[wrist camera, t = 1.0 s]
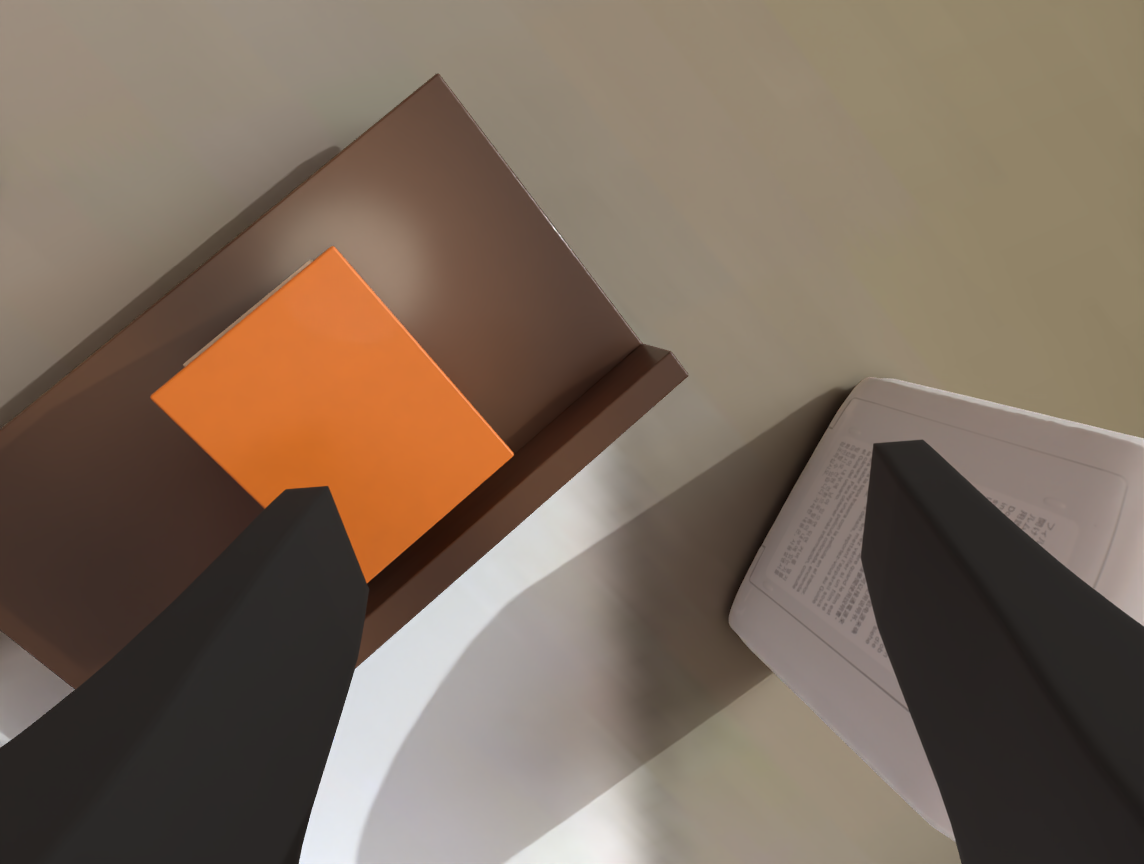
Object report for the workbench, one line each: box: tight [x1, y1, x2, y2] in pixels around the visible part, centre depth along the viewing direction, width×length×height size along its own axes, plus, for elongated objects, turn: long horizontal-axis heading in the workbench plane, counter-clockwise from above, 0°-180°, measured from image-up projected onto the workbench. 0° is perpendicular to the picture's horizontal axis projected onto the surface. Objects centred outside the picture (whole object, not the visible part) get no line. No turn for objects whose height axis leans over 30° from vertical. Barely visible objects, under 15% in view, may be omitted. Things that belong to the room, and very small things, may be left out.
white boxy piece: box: [729, 377, 1144, 842], centre depth 22 cm, size 10×4×12 cm, turn 151°
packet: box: [150, 246, 514, 583], centre depth 18 cm, size 4×5×6 cm
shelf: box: [0, 74, 688, 690], centre depth 21 cm, size 16×9×5 cm, turn 129°
